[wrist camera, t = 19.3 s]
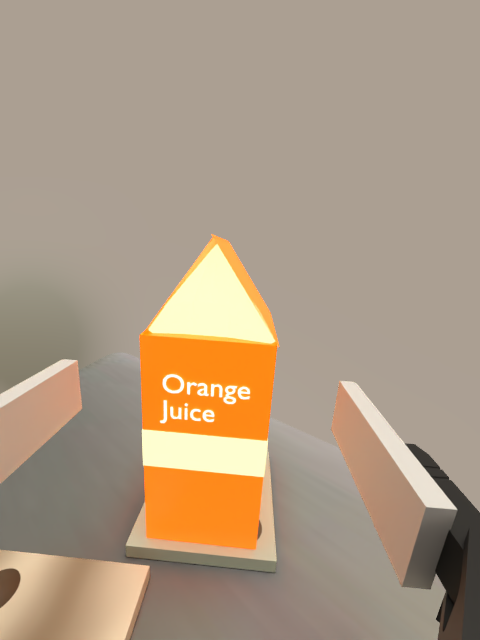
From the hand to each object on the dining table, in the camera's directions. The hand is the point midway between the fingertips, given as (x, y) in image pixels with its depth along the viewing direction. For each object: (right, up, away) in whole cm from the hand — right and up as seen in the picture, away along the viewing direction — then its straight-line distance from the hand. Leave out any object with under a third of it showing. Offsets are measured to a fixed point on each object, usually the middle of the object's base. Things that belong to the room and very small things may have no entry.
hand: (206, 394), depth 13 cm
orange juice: (-1, -11, +9) cm, 14 cm away
